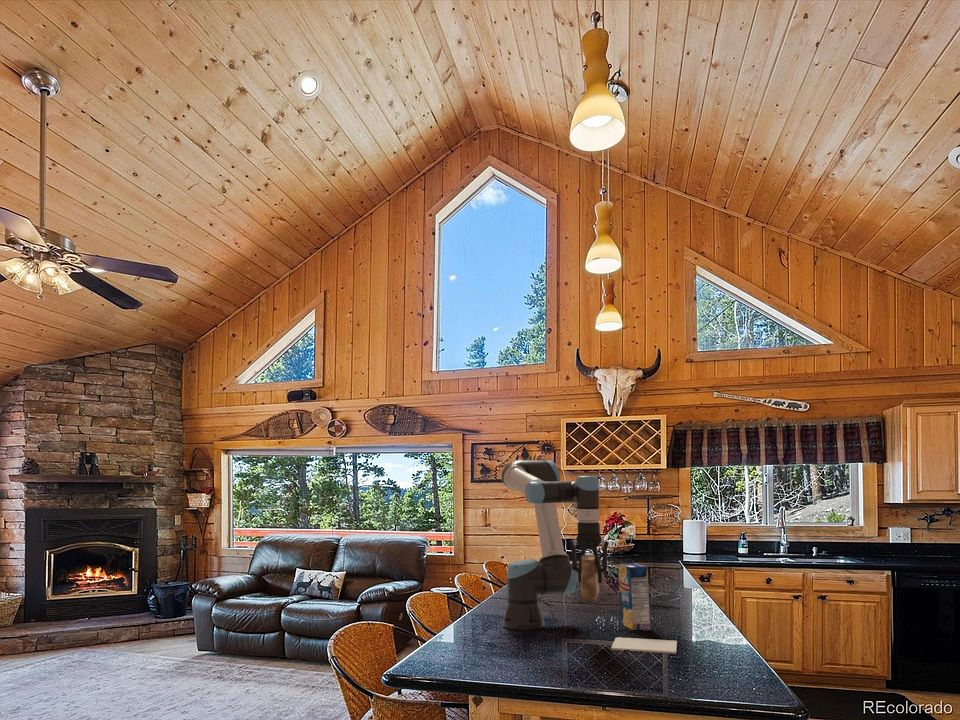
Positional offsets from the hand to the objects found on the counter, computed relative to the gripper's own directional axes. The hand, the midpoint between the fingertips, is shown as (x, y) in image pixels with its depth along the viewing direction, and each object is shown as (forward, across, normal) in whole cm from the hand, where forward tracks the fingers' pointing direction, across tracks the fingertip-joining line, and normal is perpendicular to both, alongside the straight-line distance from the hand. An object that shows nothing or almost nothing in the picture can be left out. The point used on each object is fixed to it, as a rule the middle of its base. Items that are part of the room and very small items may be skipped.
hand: (590, 592), depth 235 cm
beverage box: (+16, +12, +28) cm, 34 cm away
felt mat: (+16, +17, 0) cm, 23 cm away
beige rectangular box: (+2, 0, 0) cm, 2 cm away
